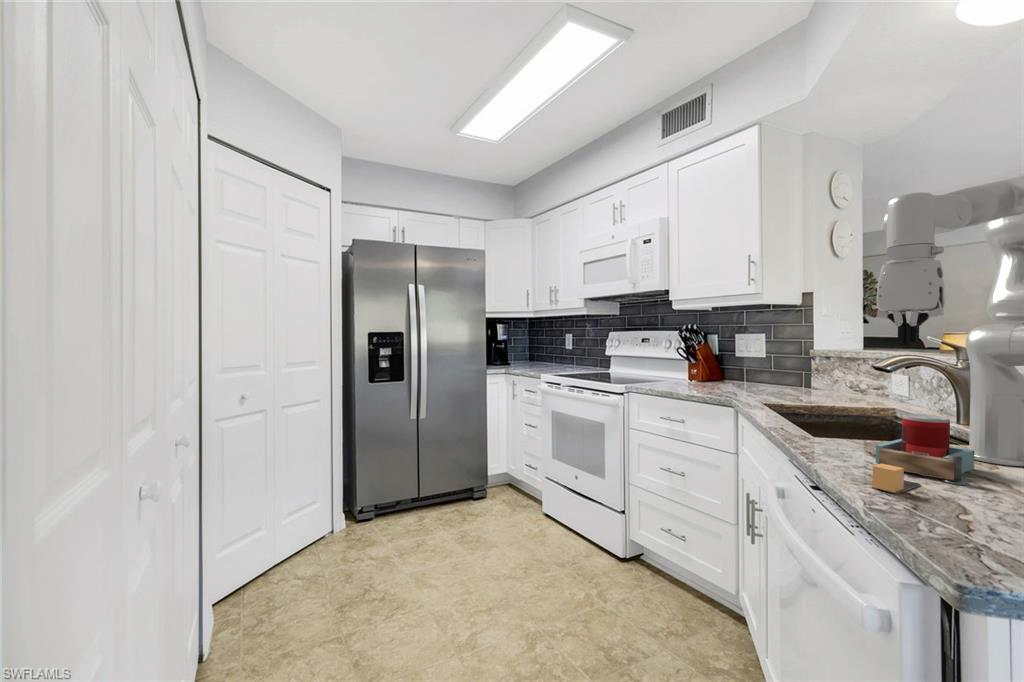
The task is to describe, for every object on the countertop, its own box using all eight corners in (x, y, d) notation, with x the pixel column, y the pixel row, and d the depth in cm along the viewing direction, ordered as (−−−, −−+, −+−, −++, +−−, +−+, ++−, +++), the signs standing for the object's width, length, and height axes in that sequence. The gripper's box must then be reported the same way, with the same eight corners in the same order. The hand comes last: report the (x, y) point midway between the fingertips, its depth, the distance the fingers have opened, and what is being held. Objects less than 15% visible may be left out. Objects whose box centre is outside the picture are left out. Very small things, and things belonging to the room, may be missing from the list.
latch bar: (963, 479, 92) (963, 456, 92) (959, 481, 90) (960, 458, 90) (883, 463, 102) (883, 443, 102) (879, 465, 101) (879, 444, 101)
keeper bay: (901, 454, 112) (901, 438, 112) (974, 468, 101) (974, 450, 101) (875, 462, 106) (876, 445, 105) (950, 478, 94) (950, 458, 94)
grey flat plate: (895, 479, 93) (895, 478, 93) (920, 485, 90) (920, 484, 90) (872, 487, 88) (872, 486, 88) (897, 494, 85) (897, 492, 85)
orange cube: (881, 483, 90) (881, 463, 90) (903, 489, 87) (903, 468, 86) (872, 486, 88) (872, 466, 88) (894, 492, 85) (895, 470, 85)
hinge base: (946, 477, 94) (946, 476, 94) (972, 483, 91) (972, 481, 91) (938, 480, 92) (938, 479, 92) (964, 486, 89) (964, 485, 89)
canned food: (958, 471, 99) (959, 420, 99) (915, 469, 100) (916, 418, 100) (933, 461, 106) (934, 414, 106) (893, 459, 108) (894, 412, 108)
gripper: (965, 252, 90) (964, 346, 90) (875, 262, 103) (874, 344, 103) (950, 248, 86) (948, 347, 86) (858, 259, 99) (857, 345, 99)
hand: (908, 345), depth 95 cm, fingers closed
